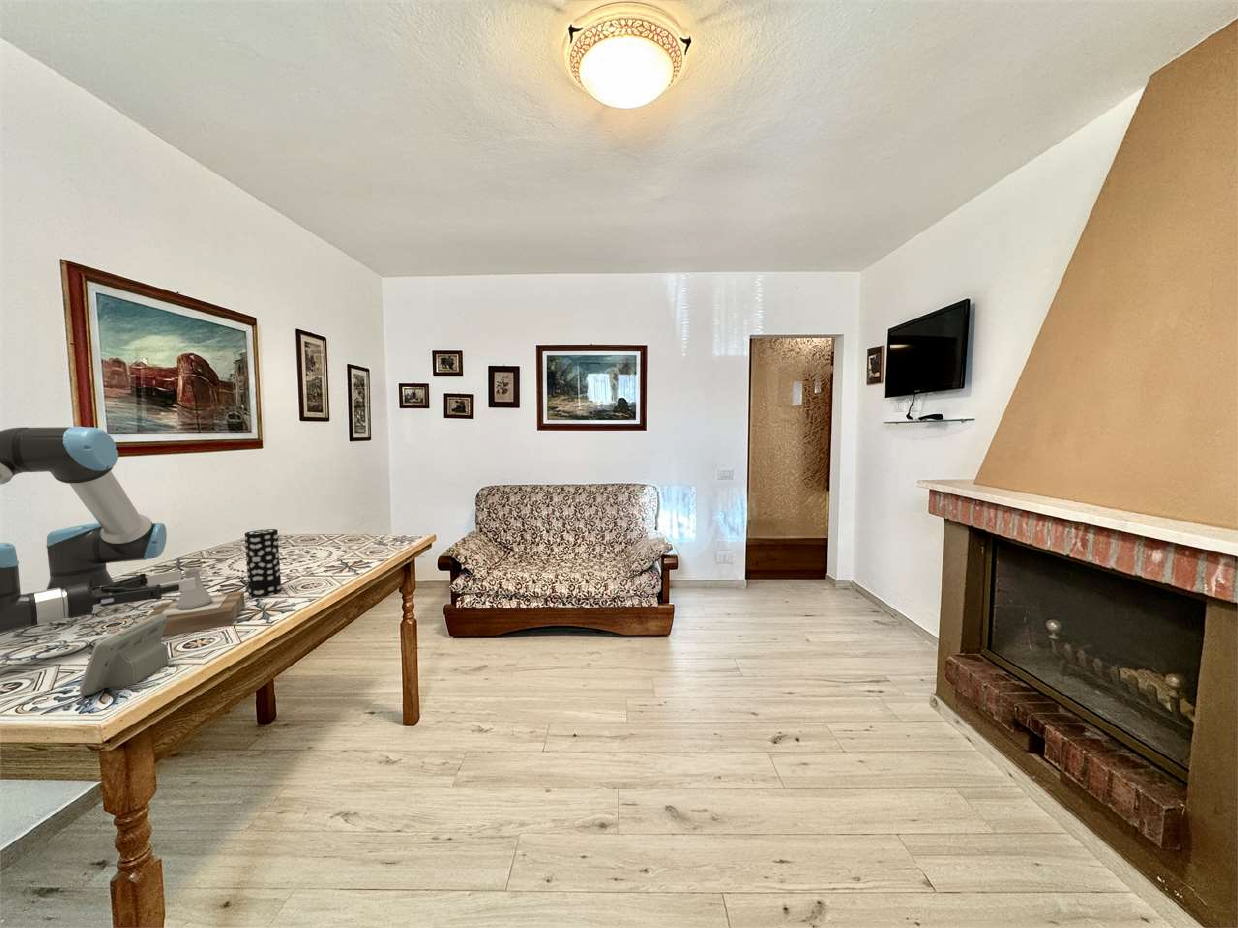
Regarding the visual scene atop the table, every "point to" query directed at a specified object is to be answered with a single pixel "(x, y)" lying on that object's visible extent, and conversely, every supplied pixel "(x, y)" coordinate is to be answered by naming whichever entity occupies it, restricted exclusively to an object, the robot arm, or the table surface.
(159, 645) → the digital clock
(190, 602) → the flask
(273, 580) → the white-spotted black cylinder
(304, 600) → the table surface
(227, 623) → the walnut plinth
